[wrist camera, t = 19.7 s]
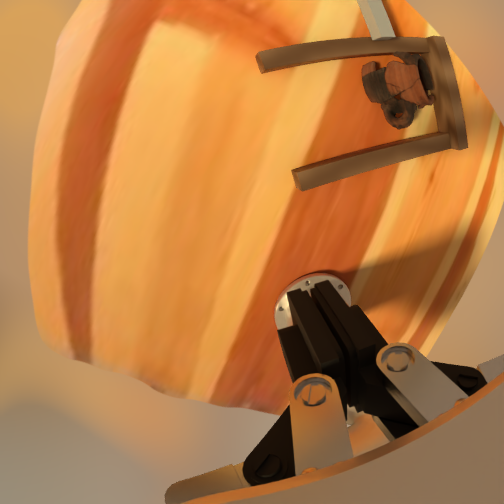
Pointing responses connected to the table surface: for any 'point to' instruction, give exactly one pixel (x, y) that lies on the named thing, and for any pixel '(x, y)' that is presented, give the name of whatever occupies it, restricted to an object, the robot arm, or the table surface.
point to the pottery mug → (399, 87)
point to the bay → (390, 153)
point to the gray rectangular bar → (376, 19)
